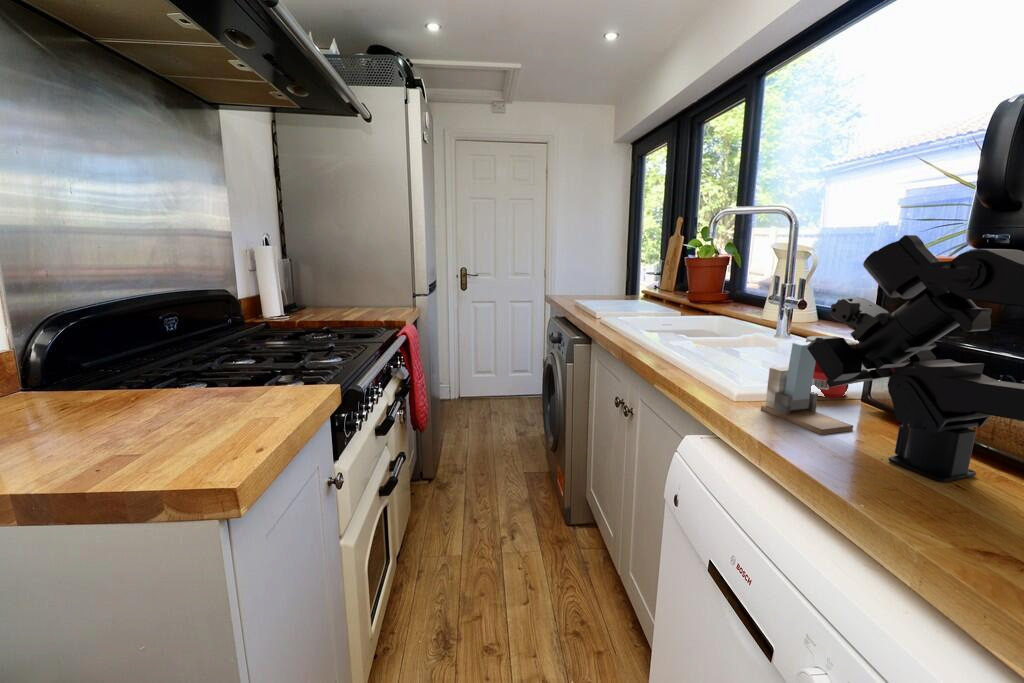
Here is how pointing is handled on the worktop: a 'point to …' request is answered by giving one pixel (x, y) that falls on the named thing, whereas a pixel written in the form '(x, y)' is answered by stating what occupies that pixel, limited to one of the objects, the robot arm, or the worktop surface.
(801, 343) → the leg
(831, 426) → the wooden base block holder
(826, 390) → the canned food
